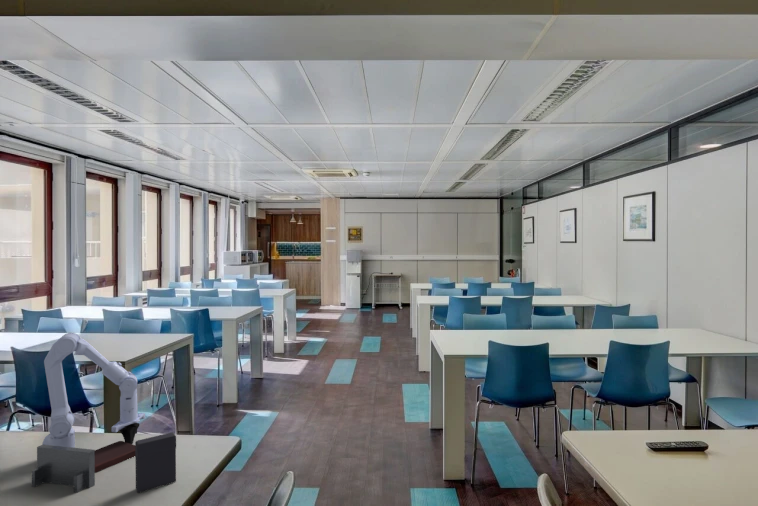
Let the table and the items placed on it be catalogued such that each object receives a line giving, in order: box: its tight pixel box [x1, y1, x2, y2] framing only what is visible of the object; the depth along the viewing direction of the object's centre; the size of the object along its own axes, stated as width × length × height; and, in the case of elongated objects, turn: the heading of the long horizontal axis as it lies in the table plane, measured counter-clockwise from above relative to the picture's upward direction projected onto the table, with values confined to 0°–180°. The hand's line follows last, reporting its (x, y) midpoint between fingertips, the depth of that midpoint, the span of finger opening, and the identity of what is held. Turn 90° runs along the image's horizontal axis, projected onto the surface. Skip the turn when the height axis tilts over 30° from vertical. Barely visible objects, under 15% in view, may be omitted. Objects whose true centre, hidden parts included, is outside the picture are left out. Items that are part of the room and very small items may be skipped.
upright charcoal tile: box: [134, 432, 177, 494], centre depth 142 cm, size 11×4×15 cm, turn 128°
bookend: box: [31, 444, 96, 493], centre depth 142 cm, size 20×5×11 cm, turn 77°
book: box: [94, 440, 135, 474], centre depth 159 cm, size 12×19×3 cm, turn 151°
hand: (129, 444), depth 169 cm, fingers closed
